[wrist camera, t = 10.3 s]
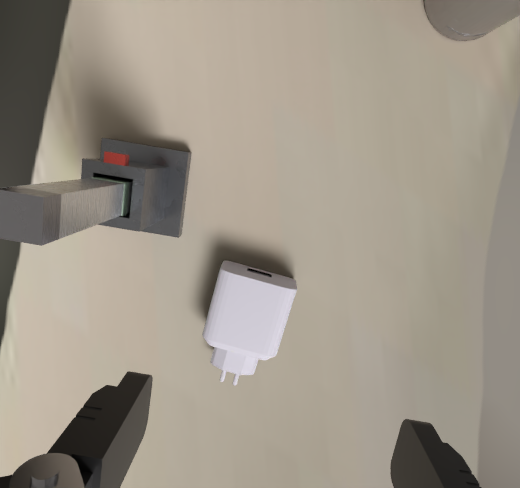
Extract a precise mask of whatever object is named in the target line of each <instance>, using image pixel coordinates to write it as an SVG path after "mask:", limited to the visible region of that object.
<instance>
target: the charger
mask: <svg viewBox="0 0 520 488" xmlns="http://www.w3.org/2000/svg"><path fill="white" fill-rule="evenodd" d="M248 268H250V269H253V270H257V271H261V272H264V273H268V274H271V275H272V276H269V275H265V274H261V273H258V272H254V271H250V270H247V269H248ZM296 291H297V286H296V281H295V280H294V279H292V278H289V277H286V276H282V275H278V274H275V273H271V272H268V271H264V270H260V269H257V268H253V267H249V266H246V265H242V264H239V263H235V262H231V261H223V263H222V265H221V267H220V270H219V274H218V278H217V282H216V285H215V289H214V293H213V297H212V300H211V304H210V308H209V312H208V316H207V319H206V323H205V327H204V331H203V334H202V335H203V337H204V338H205V340H206V341H207V343H208V344H209V345H210V346H213V347H214V351H213V354H212V358H211V363H212V365H214V366H216V367H218V368H219V369H221V370H222V373H221V377H220V381H221V382H223V381H224V378H225V374H226V371H227V372H231V373H235V377H234V380H233V385H237V381H238V378H239V375H252V374H254V372H255V369H256V365H257V362H258V359H261V360H267V359H269V358H272V357H274V356H276V354H277V351H278V348H279V345H280V342H281V338H282V335H283V332H284V329H285V326H286V323H287V319H288V316H289V313H290V310H291V307H292V303H293V300H294V297H295V294H296Z"/></svg>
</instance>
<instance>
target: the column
mask: <svg viewBox="0 0 520 488" xmlns="http://www.w3.org/2000/svg"><path fill="white" fill-rule="evenodd" d="M132 185H133V180H131V179H125V178H119V177H114V176H105V177H92V178H87V179H78V180H69V181H60V182H51V183H42V184H33V185H24V186H15V187H6V188H0V239H6V240H12V241H18V242H24V243H30V244H36V245H44V244H47V243H50V242H52V241H55V240H58V239H60V238H63V237H66V236H68V235H71V234H74V233H76V232H79V231H82V230H84V229H87V228H89V227H92V226H95V225H97V224H100V223H103V222H105V221H108V220H111V219H113V218H116V217H119V216H124V215H126V214H127V213H129V212H130V207H131V196H132Z"/></svg>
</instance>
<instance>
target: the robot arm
mask: <svg viewBox="0 0 520 488" xmlns="http://www.w3.org/2000/svg"><path fill="white" fill-rule="evenodd" d="M424 3H425V10H426V13H427V16H428V18H429V20H430V22H431V24H432V25H433V27H434V28H435V29H436V30H437V31H438V32H439V33H440V34H442V35H444V36H446V37H447V38H450V39H453V40H458V41H468V40H474V39H477V38H479V37H482V36H484V35H486V34H488V33H489V32H491V31H493V30H495V29H496V28H498V27H500V26H501V25H503V24H505V23H507V22H509V21H510V20H512V19H514V18H515V17H517V16H519V15H520V0H424ZM151 388H152V375H147V374H141V373H135V372H127V373H126V375H125V376H124V378H123V379H122V381H121V382H120V384H119V385H118V386H117V387H116V386H110V385H106V386H104V387H103V388H101V389H100V390H98V391H96V392H95V393H93V394H92V395H91V397H90V398H89V399H88V400H87V402H86V403H85V404H84V406H83V408H81V410H80V411H79V412H78V413H77V415H76V417H75V418H74V419H73V420H72V421H71V423H70V424H69V425H68V426H67V428H66V429H65V430H64V432H63V433H62V434H61V436H60V437H59V438H58V439H57V441H56V442H55V443H54V445H53V446H52V447H51V449H50V450H49V451H48V453H47V454H43V455H39V456H36V457H34V458H32V459H30V460H28V461H26V462H25V463H23V464H22V465H21V466H20V467H19V468H18V469H17V470H16V471H15V472H14V473H13V475H10V476H5V477H0V488H120V486H121V484H122V482H123V480H124V477H125V475H126V473H127V471H128V469H129V467H130V465H131V462H132V460H133V458H134V456H135V454H136V452H137V450H138V447H139V445H140V443H141V441H142V439H143V436H144V433H145V430H146V426H147V421H148V414H149V406H150V397H151ZM391 479H392V483H393V486H394V488H481V487H479V483H478V481H477V480H476V478H475V476H474V475H472V472H471V470H470V468H469V467H468V465H467V464H466V462H465V460H464V459H463V457H462V456H461V455H460V454H459V453H457V452H456V451H455V450H454V449H453V448H452V447H451V446H450V445H449V444H448V443H443V442H442V441H441V439H440V437H439V435H438V434H437V432H436V430H435V429H434V427H433V426H432V424H430V423H427V422H421V421H415V420H409V419H405V420H404V421H403V422H402V425H401V428H400V432H399V435H398V439H397V442H396V446H395V449H394V453H393V456H392V460H391Z"/></svg>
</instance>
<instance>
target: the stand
mask: <svg viewBox="0 0 520 488" xmlns="http://www.w3.org/2000/svg"><path fill="white" fill-rule="evenodd" d="M190 160H191V153H190V152H184V151H178V150H172V149H167V148H161V147H155V146H149V145H143V144H137V143H131V142H125V141H119V140H113V139H107V138H102V143H101V157H100V159H82V174H81V179H87V178H92V177H105V176H114V177H119V178H125V179H131V180H133V185H132V196H131V207H130V212H129V213H127V214H126V215H124V216H119V217H116V218H113V219H111V220H108V221H105V222H103V223H100V224H98V225H104V226H110V227H116V228H122V229H128V230H134V231H139V232H140V231H143V232H149V233H155V234H161V235H167V236H172V237H180V236H181V233H182V225H183V217H184V209H185V201H186V193H187V185H188V176H189V168H190Z"/></svg>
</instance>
